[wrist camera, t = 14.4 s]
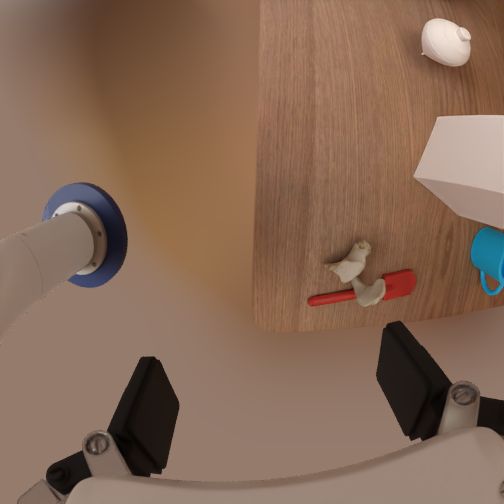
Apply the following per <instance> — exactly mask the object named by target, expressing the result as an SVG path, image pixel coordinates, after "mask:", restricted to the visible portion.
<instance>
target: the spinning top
mask: <svg viewBox="0 0 504 504" xmlns="http://www.w3.org/2000/svg"><path fill="white" fill-rule="evenodd" d="M421 39H422V50H423V53H421V54H422V55H424V54H425V55H426V56H427V57H429V58H431V59H433V60H434V61H437V62H438V63H441V64H444V65H448V66H453V67H456V66H461V65H463V64H465V63H466V62H467V60H468V59H469V56H470V49H471V47H470V42H469V40H470V39H471V36H470V34H469V32H468V31H467V30H466V29H465V28H460V27H459V26H457V25H456V24H454V23H453V22H450V21H448V20H445V19H432V20H430V21H428V22H427V23H426V25H425V26H424V28H423V32H422V38H421Z"/></svg>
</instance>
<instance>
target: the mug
mask: <svg viewBox="0 0 504 504" xmlns="http://www.w3.org/2000/svg"><path fill="white" fill-rule="evenodd" d="M471 260H472V263H473V265H474V266H475V267H477V268H478V269H480V270H481V272H480V274H481V283H482V287H483V289H484V291H485V292H486V293H487V294H489V295H496V294H497V293H499V292H500V291H501V289H502V288H503V286H504V233H502V232H499V231H497V230H494V229H492V228H490V227H484V228H482V229H481V230H480V231H479V232H478V233H477V235H476V236H475V238H474V241H473V243H472V248H471ZM485 273H486V274H488V275H490V276H491V277H493V278H494V279H496V280H497V281H499V282H500V285H499V286H498V288H497V289H496V290H490V289H489V288H488V286H487V284H486V280H485Z"/></svg>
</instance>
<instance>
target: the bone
mask: <svg viewBox="0 0 504 504" xmlns="http://www.w3.org/2000/svg"><path fill="white" fill-rule="evenodd" d="M370 252H371V246H370V245H369V244H368V243H367V242H366V240H364V239H363V240H362V241H359V242H357V243H355V244H354V246H353V248H352V250H351V252H350V253H349V255H348V256H347V257H346V258H344V259H343V260H342V261H340V262H337V263H330V264H324V266H325V267H326V268H328V270H329V271H333V272H334V273H337V274H338V275H339V277H340V279H341V282H342V283H347V282H349V281H351V283H352V286H353V288H354V292H355V294H356V298H357V302H358V303H359V304H360V305H361V306H363V307H367V306H369V305H375V304H376V303H378V302H379V300H380V299H381V298H383V296H384V295H385V292H386V289H385V280H384V279H381V278H379V279H377V280H376V281H375V283H374V284H373V285H366V284H364V283H363V282H362V281H361V280H360V279H359V278H358V277H357V276H358V275H359V274H360V273H361V272H362V270H363V269H364V267H365V263H366V256H367V255H368V254H370Z"/></svg>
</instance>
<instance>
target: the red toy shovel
mask: <svg viewBox="0 0 504 504" xmlns="http://www.w3.org/2000/svg"><path fill="white" fill-rule="evenodd" d="M412 272H413V271H412V270H410V269H407V270H402V271H397V272H392V273H387V274H383V279H384V280H385V289H386V292H385V295H384V296H383V298H382V299H383V300H389V299H393V298H397V297H401V296H405V295H410V294H411V291H412V290H413V289H414V287H415V284H416V277H415V275H414V274H413V273H412ZM351 299H356V294H355V292H354V290H349V291H344V292H338V293H333V294H327V295H321V296H315V297H311V298H309V299H308V304H309V305H310V306H318V305H324V304H330V303H335V302H341V301H346V300H351Z"/></svg>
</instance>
